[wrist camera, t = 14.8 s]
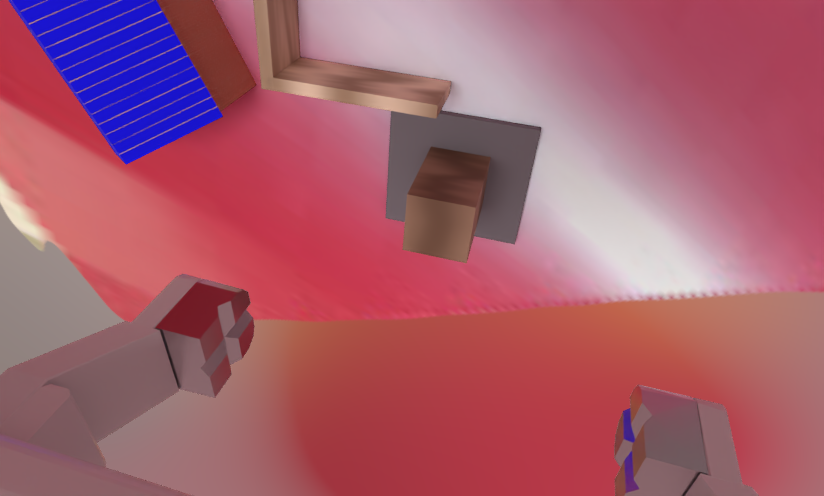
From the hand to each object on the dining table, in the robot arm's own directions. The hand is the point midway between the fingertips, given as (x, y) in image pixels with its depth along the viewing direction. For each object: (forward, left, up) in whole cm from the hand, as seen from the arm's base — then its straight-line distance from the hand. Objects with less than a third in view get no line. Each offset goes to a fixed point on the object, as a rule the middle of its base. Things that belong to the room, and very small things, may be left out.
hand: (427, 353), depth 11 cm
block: (+4, +15, -33) cm, 37 cm away
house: (+31, +4, -34) cm, 47 cm away
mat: (+4, +15, -34) cm, 37 cm away
